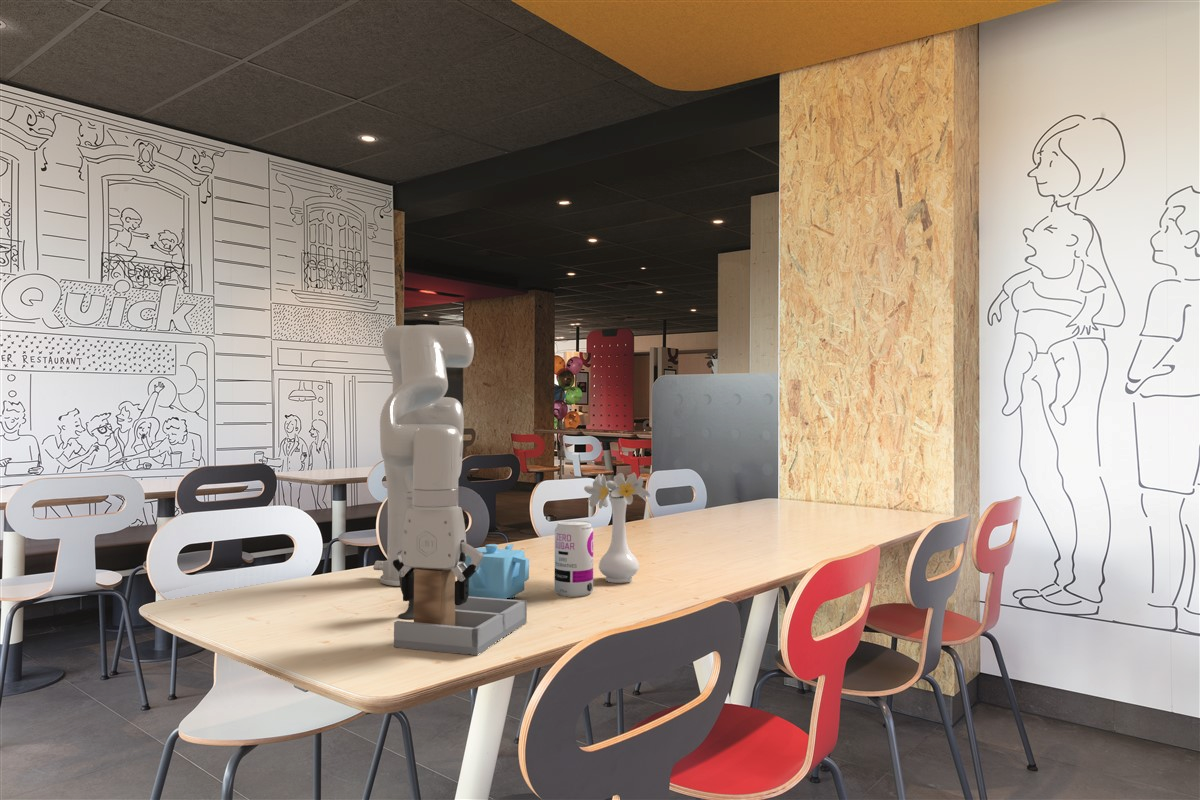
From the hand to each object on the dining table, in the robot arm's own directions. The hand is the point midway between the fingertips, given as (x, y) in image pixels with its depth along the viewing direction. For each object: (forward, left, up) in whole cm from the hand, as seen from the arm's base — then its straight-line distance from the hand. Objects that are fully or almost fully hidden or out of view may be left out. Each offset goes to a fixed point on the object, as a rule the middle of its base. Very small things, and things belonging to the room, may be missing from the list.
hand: (434, 601), depth 128 cm
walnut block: (0, 0, -5) cm, 5 cm away
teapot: (-3, +30, -7) cm, 31 cm away
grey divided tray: (+3, +5, -6) cm, 9 cm away
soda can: (+11, +40, -7) cm, 42 cm away
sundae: (-12, +13, -7) cm, 19 cm away
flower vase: (+16, +55, -7) cm, 57 cm away
